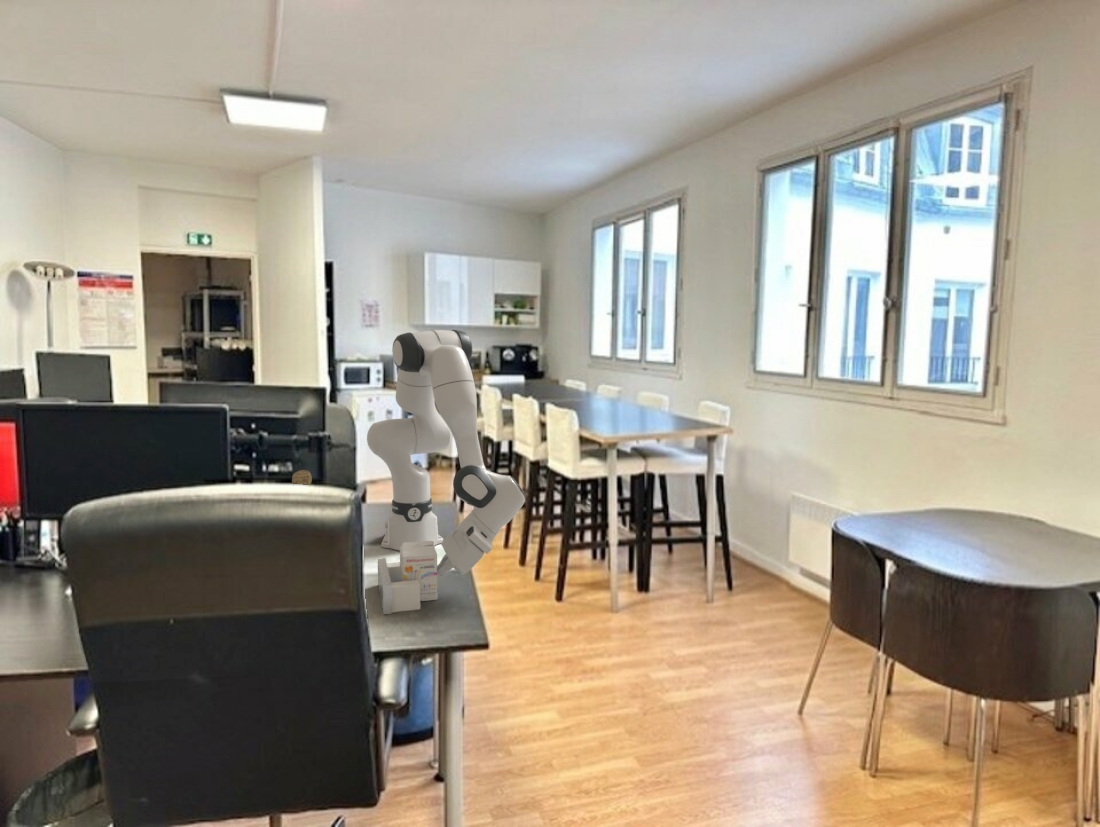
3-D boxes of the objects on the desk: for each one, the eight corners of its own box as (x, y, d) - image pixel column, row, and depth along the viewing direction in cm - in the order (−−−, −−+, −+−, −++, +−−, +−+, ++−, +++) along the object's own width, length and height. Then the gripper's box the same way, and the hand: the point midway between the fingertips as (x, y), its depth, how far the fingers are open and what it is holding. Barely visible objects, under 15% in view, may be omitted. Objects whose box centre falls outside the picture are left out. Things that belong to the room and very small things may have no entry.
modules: (386, 585, 187) (385, 563, 186) (412, 583, 189) (411, 560, 188) (392, 612, 170) (391, 587, 169) (420, 609, 172) (419, 585, 171)
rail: (378, 585, 187) (377, 558, 186) (386, 584, 188) (385, 558, 187) (383, 614, 168) (382, 586, 167) (392, 613, 169) (391, 585, 168)
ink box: (402, 603, 175) (401, 550, 173) (399, 591, 183) (398, 539, 181) (438, 600, 177) (437, 547, 176) (434, 587, 185) (433, 537, 184)
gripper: (460, 513, 192) (423, 552, 190) (475, 535, 172) (434, 578, 171) (476, 528, 194) (440, 567, 192) (493, 551, 174) (453, 595, 173)
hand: (438, 572), depth 181 cm, fingers closed
